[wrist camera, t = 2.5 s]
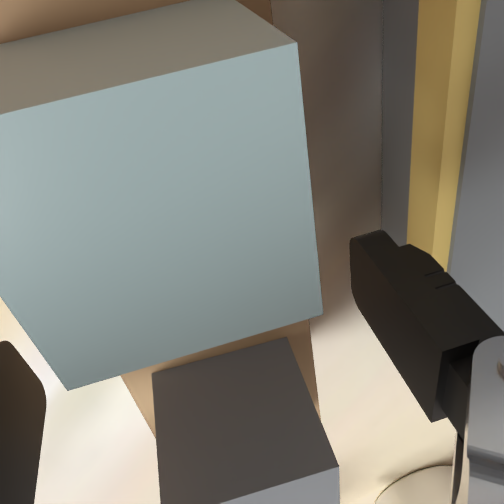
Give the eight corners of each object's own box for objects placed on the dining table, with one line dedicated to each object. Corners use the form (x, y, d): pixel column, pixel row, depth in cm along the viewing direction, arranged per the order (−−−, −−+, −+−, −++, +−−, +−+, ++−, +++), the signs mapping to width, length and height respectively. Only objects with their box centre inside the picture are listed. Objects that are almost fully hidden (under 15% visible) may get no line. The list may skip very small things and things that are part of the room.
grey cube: (286, 336, 13) (339, 466, 10) (295, 413, 16) (340, 537, 12) (151, 373, 13) (161, 521, 10) (182, 446, 15) (198, 583, 12)
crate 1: (224, -8, 8) (296, 41, 5) (259, 192, 10) (323, 314, 7) (-13, 47, 7) (-111, 141, 4) (84, 240, 10) (67, 390, 7)
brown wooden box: (-74, -205, 10) (-279, -338, 5) (170, -248, 10) (221, -411, 5) (176, 375, 23) (193, 505, 18) (280, 343, 23) (325, 462, 18)
